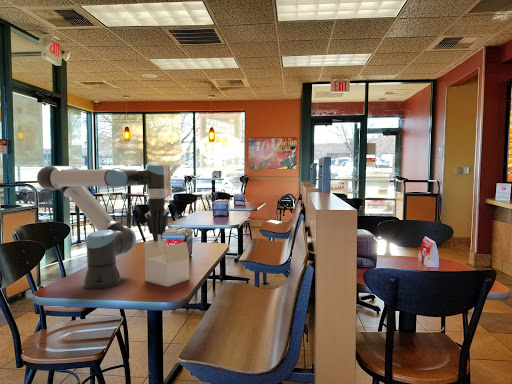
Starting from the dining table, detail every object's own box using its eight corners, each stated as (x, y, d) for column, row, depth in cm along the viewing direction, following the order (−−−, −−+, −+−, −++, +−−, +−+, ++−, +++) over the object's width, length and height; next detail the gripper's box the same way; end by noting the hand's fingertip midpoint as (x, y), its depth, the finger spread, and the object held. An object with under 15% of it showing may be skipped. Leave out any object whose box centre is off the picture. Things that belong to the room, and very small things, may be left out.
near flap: (167, 263, 154) (168, 263, 153) (163, 246, 154) (164, 246, 154) (188, 257, 164) (189, 257, 164) (185, 241, 165) (186, 241, 164)
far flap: (145, 243, 162) (144, 242, 162) (145, 259, 162) (144, 259, 163) (166, 238, 172) (166, 238, 172) (166, 253, 173) (165, 253, 173)
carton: (167, 286, 154) (166, 263, 154) (145, 280, 163) (144, 259, 162) (189, 279, 165) (188, 257, 164) (167, 274, 173) (166, 253, 173)
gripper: (150, 198, 158) (151, 251, 159) (172, 197, 168) (174, 246, 169) (139, 198, 162) (141, 249, 163) (162, 196, 173) (163, 245, 174)
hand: (158, 248), depth 166 cm, fingers closed
